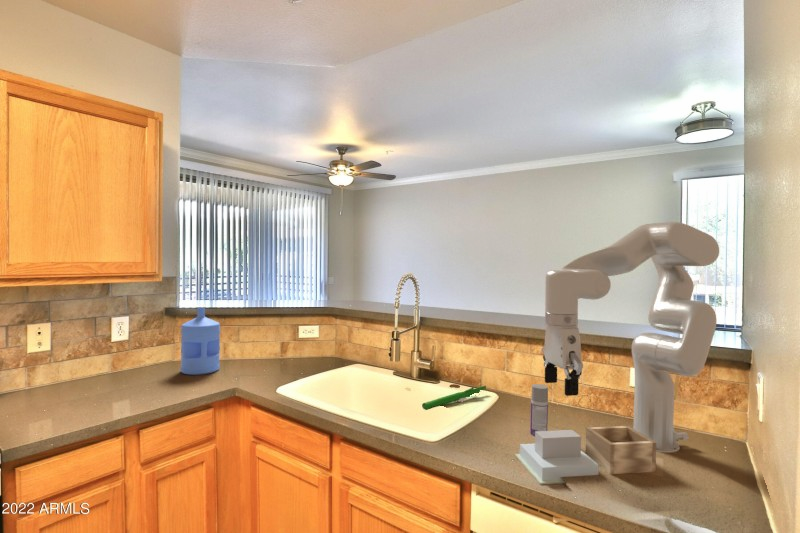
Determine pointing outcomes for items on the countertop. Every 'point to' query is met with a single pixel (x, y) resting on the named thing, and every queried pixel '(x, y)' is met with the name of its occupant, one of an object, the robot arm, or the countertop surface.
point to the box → (620, 449)
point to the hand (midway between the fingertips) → (560, 388)
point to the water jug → (200, 345)
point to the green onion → (452, 398)
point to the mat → (537, 475)
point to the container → (539, 408)
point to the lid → (558, 455)
